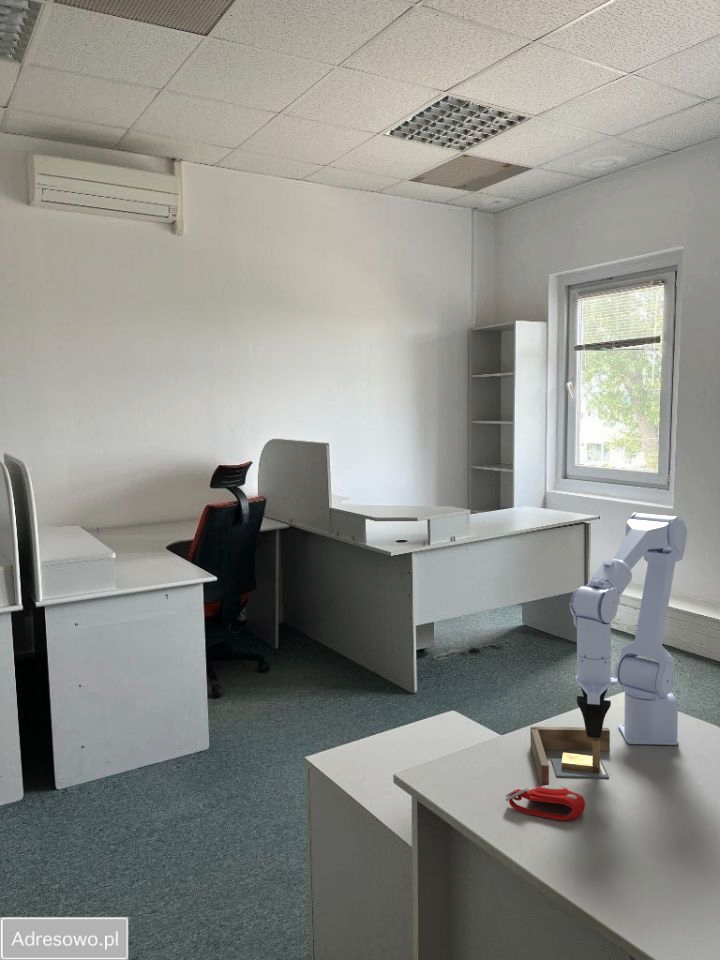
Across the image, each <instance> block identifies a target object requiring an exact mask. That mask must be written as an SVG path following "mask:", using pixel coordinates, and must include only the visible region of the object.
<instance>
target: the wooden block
mask: <svg viewBox="0 0 720 960" xmlns="http://www.w3.org/2000/svg"><path fill="white" fill-rule="evenodd" d="M561 759H562V769H567V770H575V771H583V772H591V773H599V774H600V760H601V751H600V738H593V751H592V755H587V754H579V753H569V752H562V758H561Z"/></svg>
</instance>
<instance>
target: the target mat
mask: <svg viewBox="0 0 720 960" xmlns="http://www.w3.org/2000/svg"><path fill="white" fill-rule="evenodd" d="M550 760H551V764H552V767H553V770H554V773H555V776H556V778H575V779H576V778H578V779H579V778H580V779H610V775H609V774H608V772H607V769H606V767H605V765H604V762H603V760H602V759H600V774H599V773H591V772H583V771H575V770H567V769H562V758H553V757H552V758H550Z"/></svg>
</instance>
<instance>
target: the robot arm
mask: <svg viewBox="0 0 720 960" xmlns="http://www.w3.org/2000/svg"><path fill="white" fill-rule="evenodd" d="M687 538H688V529H687V526H686V522H685V520H684V519H683V517H682V516H680V515H674V516H673V515H663V514H653V513H651V514H650V513H641V512H638V511H637V512H636V511H634V512H632V513H631V514H630V516H629V517H628V518H627V521H626V523H625V537H624V540H623V541H622V543H621V545H620V547H619V549H618V550H617V552H616V554H615V555H614V557H613V558H609V559H606V560H604V561H603V562H602V564H601V565H599V568H598V569H597V571H596V572H595V573H594V574H593V575H592V577H591V578H590V580H589V581H588V583H587V584H586V585H582V586H580V587H578V588H576V589H575V590H574V591H573V593H572V595H571V599H570V603H569V609H570V614H571V615H572V618H573V625H574V627H575V628H576V676H575V682H576V683H577V684H578V685H579V687H580V689H581V692H582V695H581V696H580V695H576V704H577V706H578V708H579V709H580V712H581V715H582V717H583V723H584V727H585V729H586V733H587V736H588V737H592V738H600V736H601V732H602V728H604V722H605V717H606V715H607V713H608V711H609V710H610V708H611V705H612V701H611V700H609V699H608V700H606V699H605V697H606V694H607V692H608V689H609V687H611V686H618V685H619V686H620V690H621V691H622V692H624V721H623V722H624V724H618V729H619V730H620V733H621V734H622V736H623V737H624V739H625V741H626V743H627V744H629V745H656V746H657V745H661V746H662V745H664V746H666V745H667V746H678V745H679V740H678V729H679V728H678V727H679V726H678V723H679V721H678V719H679V714H678V713H679V712H678V711H679V708H678V703H677V699H676V697H675V695H674V694H673V692H672V690H673V688H674V685H675V679H676V677H675V659H674V657H673V656H672V655H671V654H670V652H668V650H667V649H666V648H665V647H664V646H663V640H664V634H665V630H666V629H665V628H666V621H667V615H668V609H669V604H670V598H671V592H672V585H673V581H674V580H673V578H674V574H675V573H674V572H675V569H676V568H675V566H676V563H677V562H678V561H681V560H683V558H684V554H685V549H686V543H687ZM642 558H645V561H646V562H647V567H646V572H645V577H644V583H643V590H642V596H641V603H640V608H639V613H638V620H637V624H636V625H637V626H636V631H635V632H636V633H635V637H634V640H632V642H630V643H627V644H626V645H624V646H622V647H621V648H620V649H621V650H620V653H619V657H618V659H617V661H616V663H615V667H614V677H611V676H612V675H611V673H612V672H611V671H612V670H611V669H612V668H611V667H612V666H611V665H612V664H611V663H612V662H611V659H612V658H611V656H612V654H611V652H612V649H611V648H612V647H611V643H612V642H611V641H612V640H611V637H612V636H611V635H612V634H611V633H612V631H611V630H612V629H611V623H612V621H614V620H615V619H616V616H617V613H618V608H619V605H620V602H621V598H620V597H621V595H622V594H623V593H624V591H625V590H626V589H627V587H628V586H629V584H630V582H631V581H632V579H633V573H632V569H633V568H634V567H635V566H636V564H638V562H639V561H640V560H641V559H642ZM638 656H641V657H644V658H641V657H638ZM645 657H646V658H649V659H653V660H649V659H645ZM654 660H655V661H654Z"/></svg>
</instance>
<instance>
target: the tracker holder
mask: <svg viewBox="0 0 720 960" xmlns="http://www.w3.org/2000/svg"><path fill="white" fill-rule="evenodd" d="M505 797H506V798H505V801H506V802H508V803H509V805H510V807H512V809H514V810H516V811H518V812H522V813H524V814H526V815H527V814H528V815H531V816H536V817H540V818H541V817H542V818H545V819H550V820H555V821H563V822H564V821H571V820H577V819H578V818H580V817H581V815H582V814H583V813H584V811H585V808H586V799H585V798H584V796H583V795H581V794H579V793H577V792H574V791H572V790H570V789H568V788H566V787H564V786H560V785H554V784H549V785H542V786H541V785H538V786H537V787H536V788H532V789H531V788H530V789H529V787H526V788H523V789H521V788H520V789H517V788H516V789H514V790H513V791H510V792H508V793H507V794H506V795H505ZM523 798H524V799H525V800H529V801H534V802H540V803H550V804H551V803H552V804H560V805H565V806H567V807H569V808H571V811H570V812H569V814H568V815H566V814H560V813H556V812H555V813H553V812H549V811H543V810H538V809H533V808H530V807H529V808H528V807H525V806H522V805H519V804H517V803H516V802H515V801H521V800H522V799H523ZM514 800H515V801H514Z"/></svg>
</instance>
